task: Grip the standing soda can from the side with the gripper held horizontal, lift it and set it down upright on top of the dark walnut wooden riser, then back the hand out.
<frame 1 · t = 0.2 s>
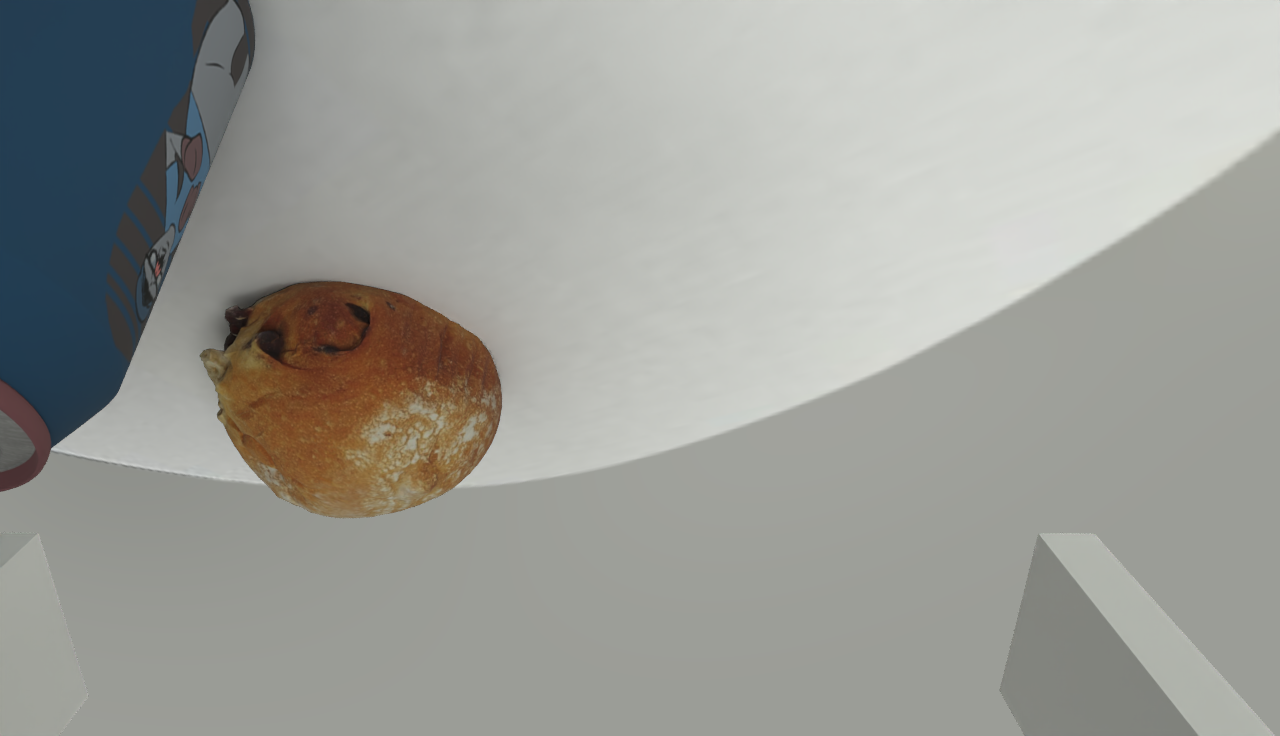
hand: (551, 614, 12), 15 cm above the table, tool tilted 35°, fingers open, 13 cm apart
bread roll: (363, 349, 33), on the table
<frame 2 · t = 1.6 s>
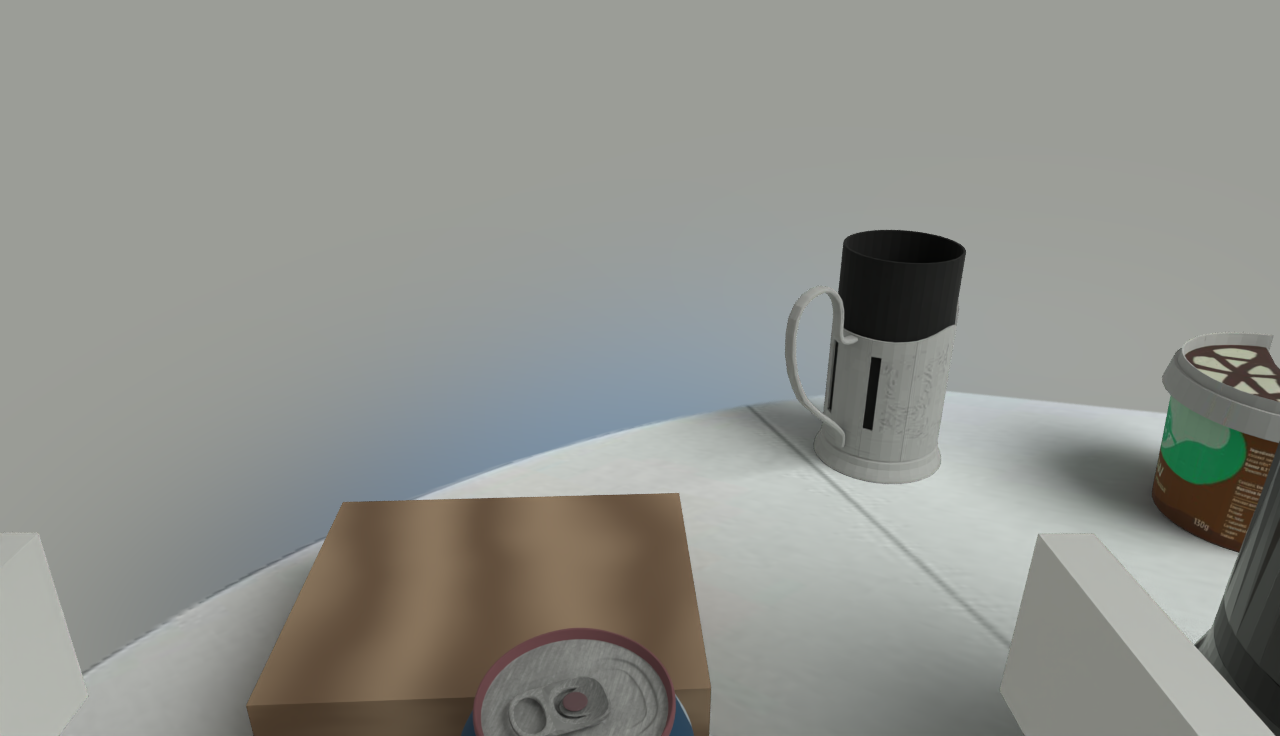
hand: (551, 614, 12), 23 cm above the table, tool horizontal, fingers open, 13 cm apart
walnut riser: (506, 663, 42), on the table
glass holder: (850, 464, 59), on the table
food container: (1184, 505, 55), on the table
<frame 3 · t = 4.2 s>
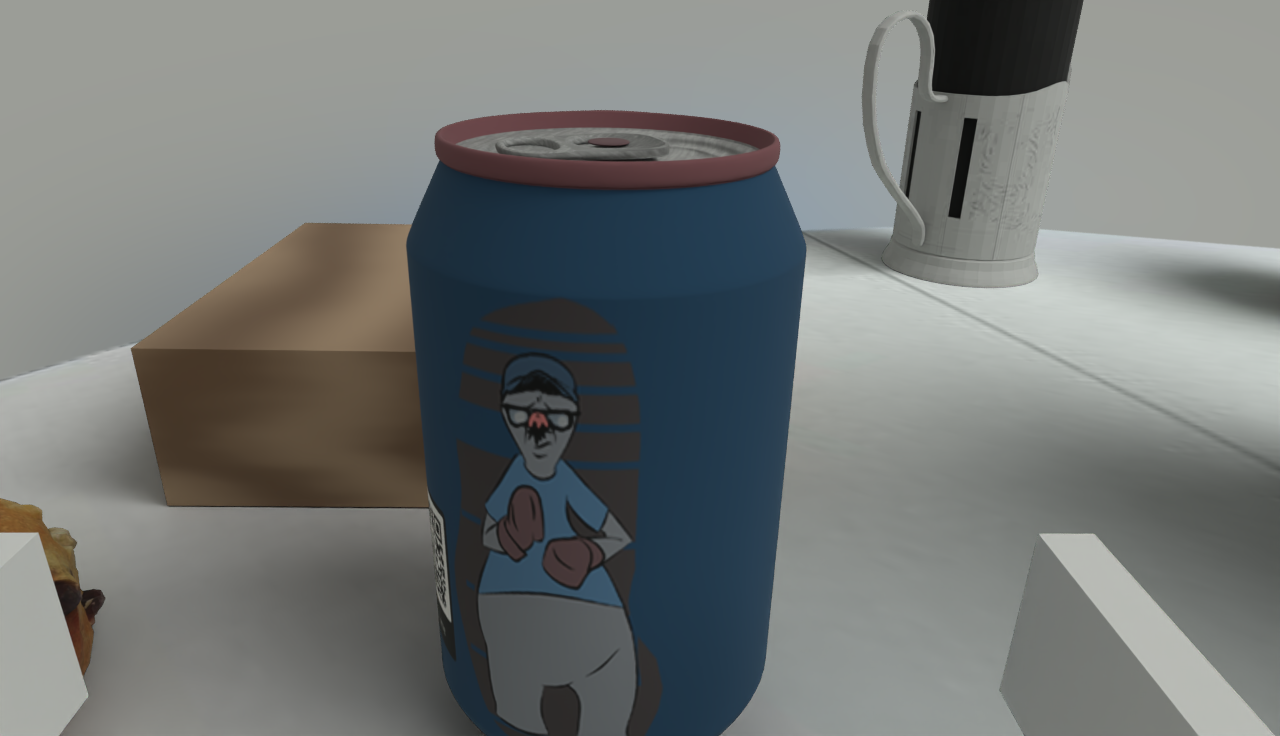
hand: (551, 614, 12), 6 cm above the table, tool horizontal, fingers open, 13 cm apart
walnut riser: (503, 404, 32), on the table
soda can: (605, 688, 19), on the table
glass holder: (927, 274, 49), on the table
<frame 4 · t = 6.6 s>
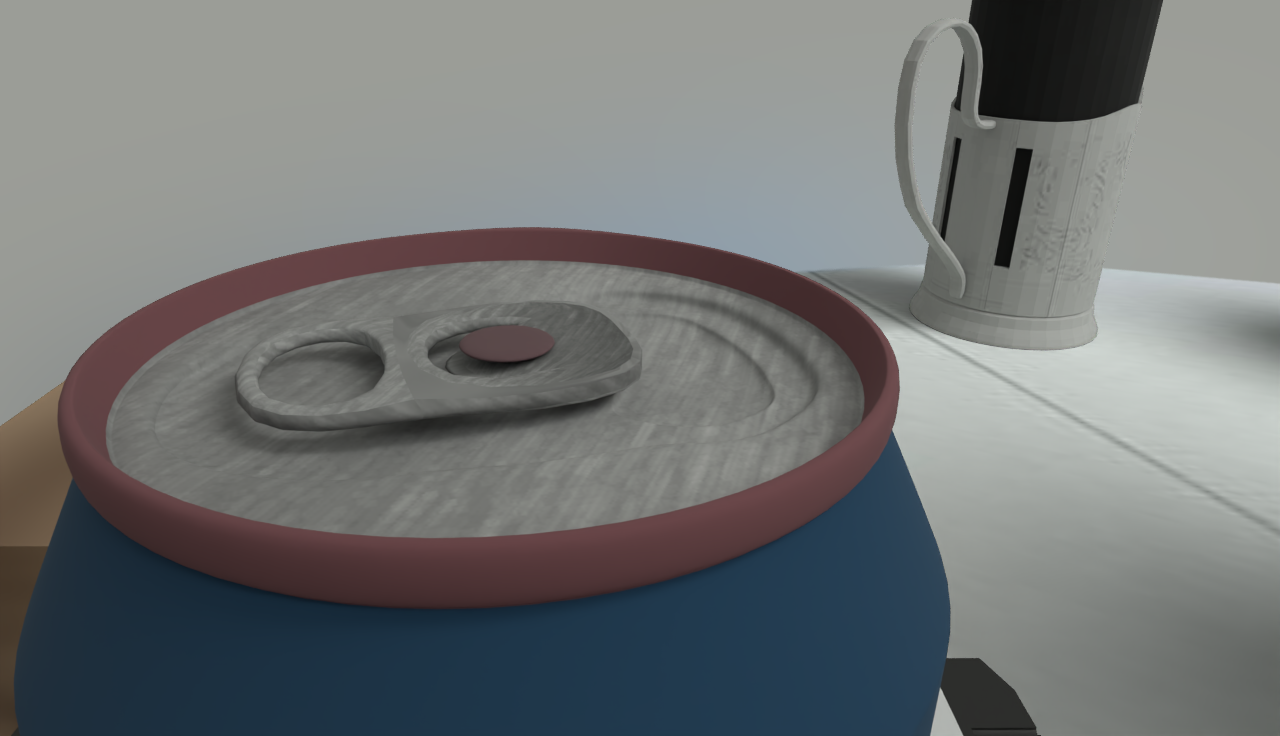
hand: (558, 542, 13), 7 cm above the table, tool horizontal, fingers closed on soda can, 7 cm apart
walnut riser: (436, 547, 24), on the table
glass holder: (966, 330, 41), on the table
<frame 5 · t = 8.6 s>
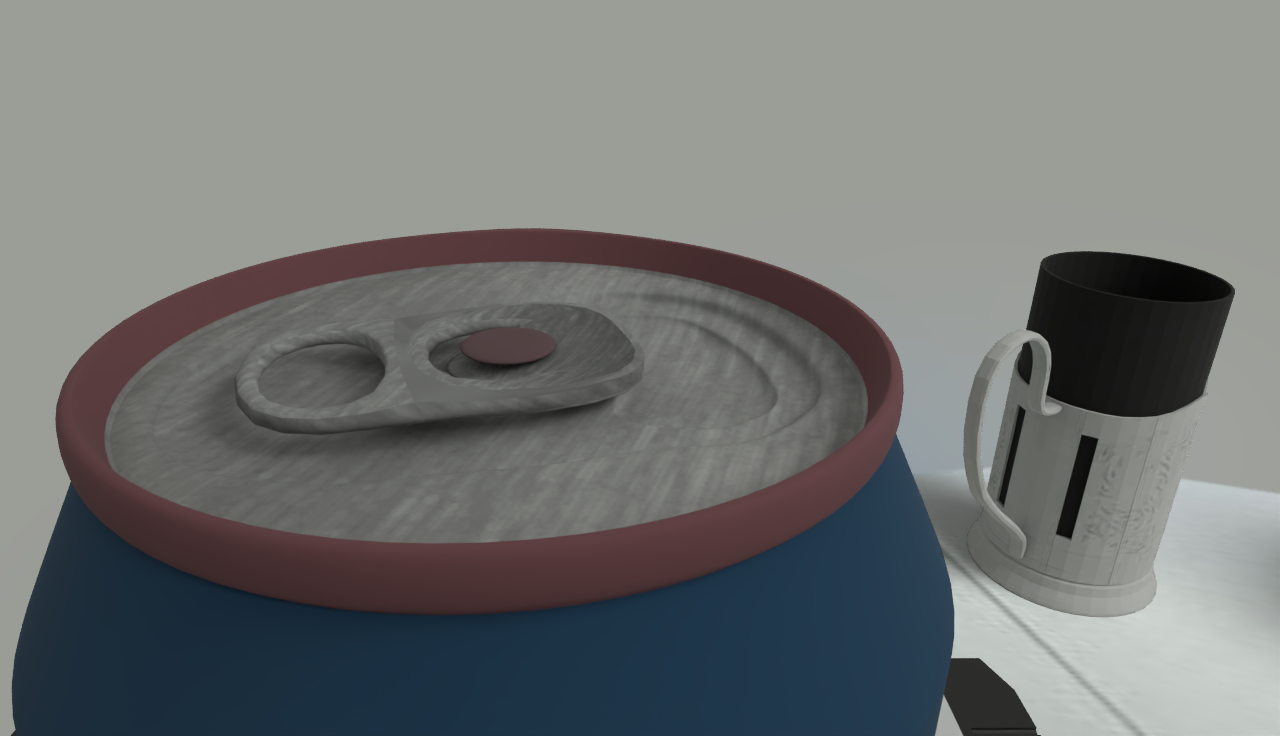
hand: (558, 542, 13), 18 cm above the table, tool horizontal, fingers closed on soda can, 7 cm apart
glass holder: (1024, 580, 42), on the table
when the fingers open (13 cm above the table, at t = 10.7 s): soda can drops 1 cm, resting on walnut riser.
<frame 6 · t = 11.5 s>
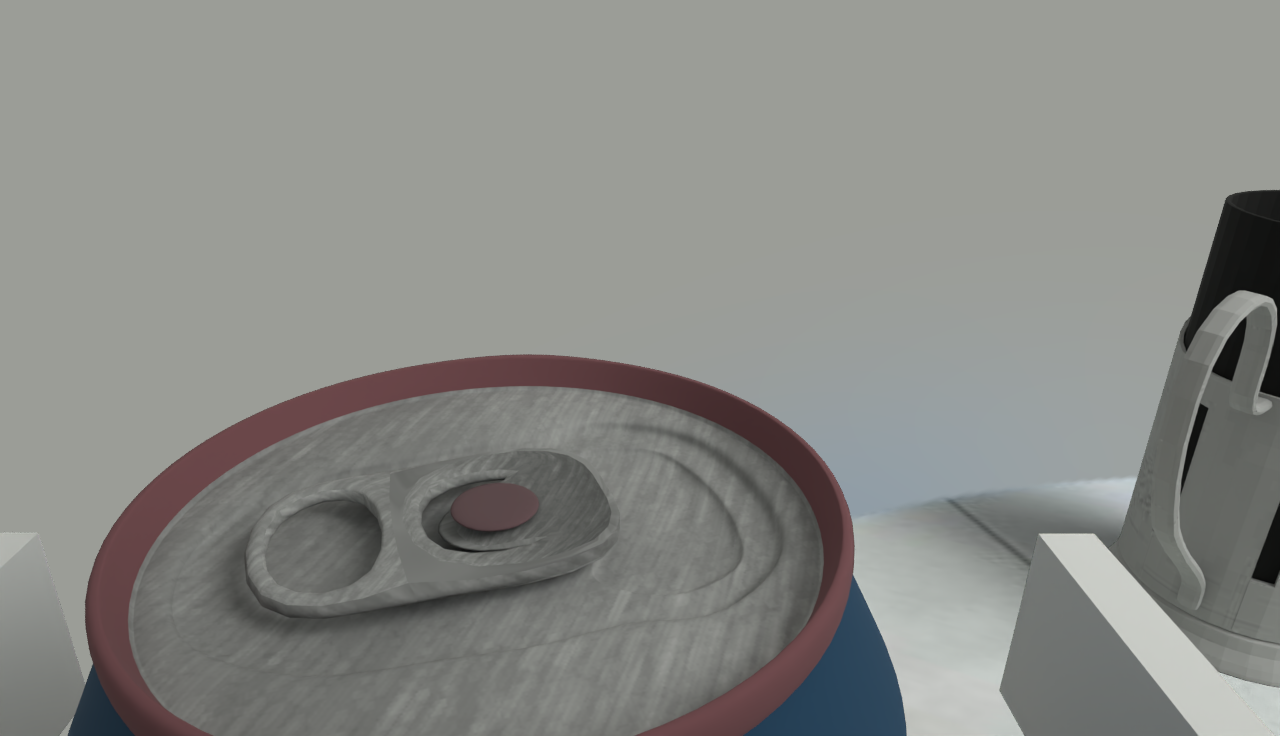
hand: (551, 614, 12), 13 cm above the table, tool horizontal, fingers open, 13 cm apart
glass holder: (1189, 635, 31), on the table
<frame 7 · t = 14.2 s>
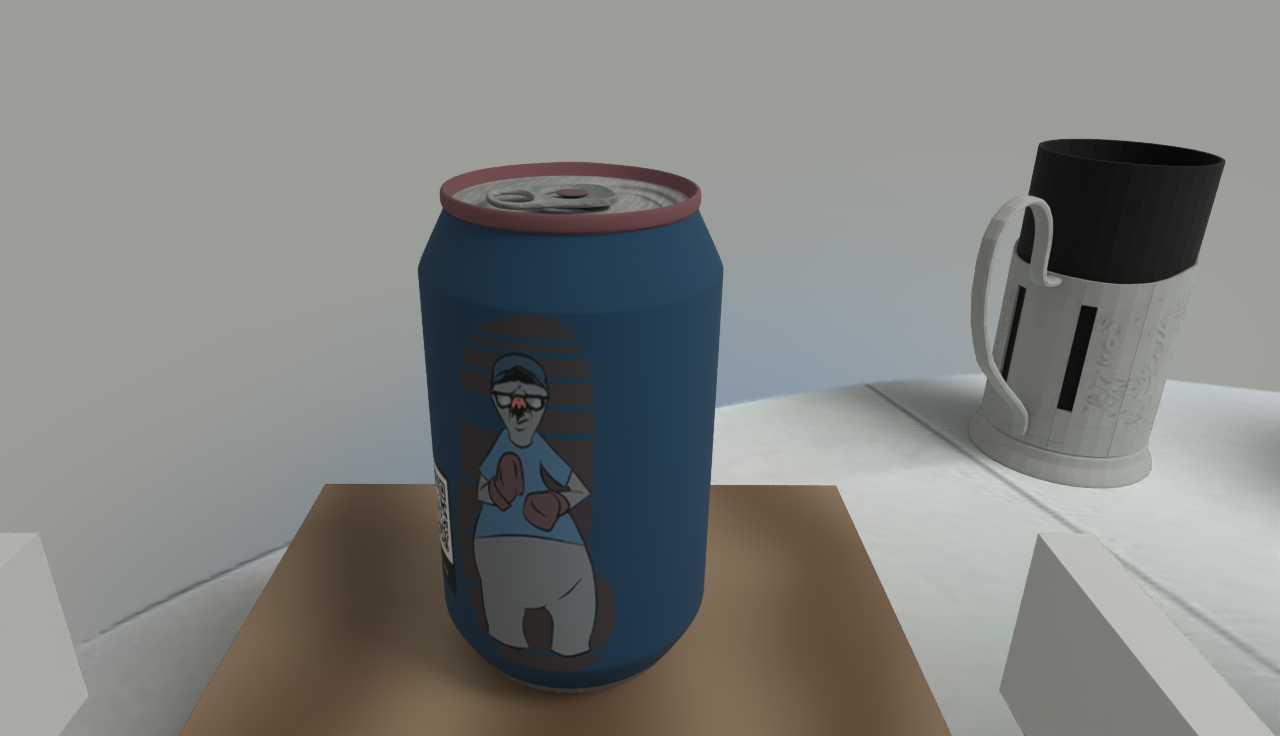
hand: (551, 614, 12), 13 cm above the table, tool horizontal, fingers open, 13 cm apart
soda can: (576, 624, 24), point 5 cm above the table, touching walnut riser
glass holder: (1025, 461, 43), on the table
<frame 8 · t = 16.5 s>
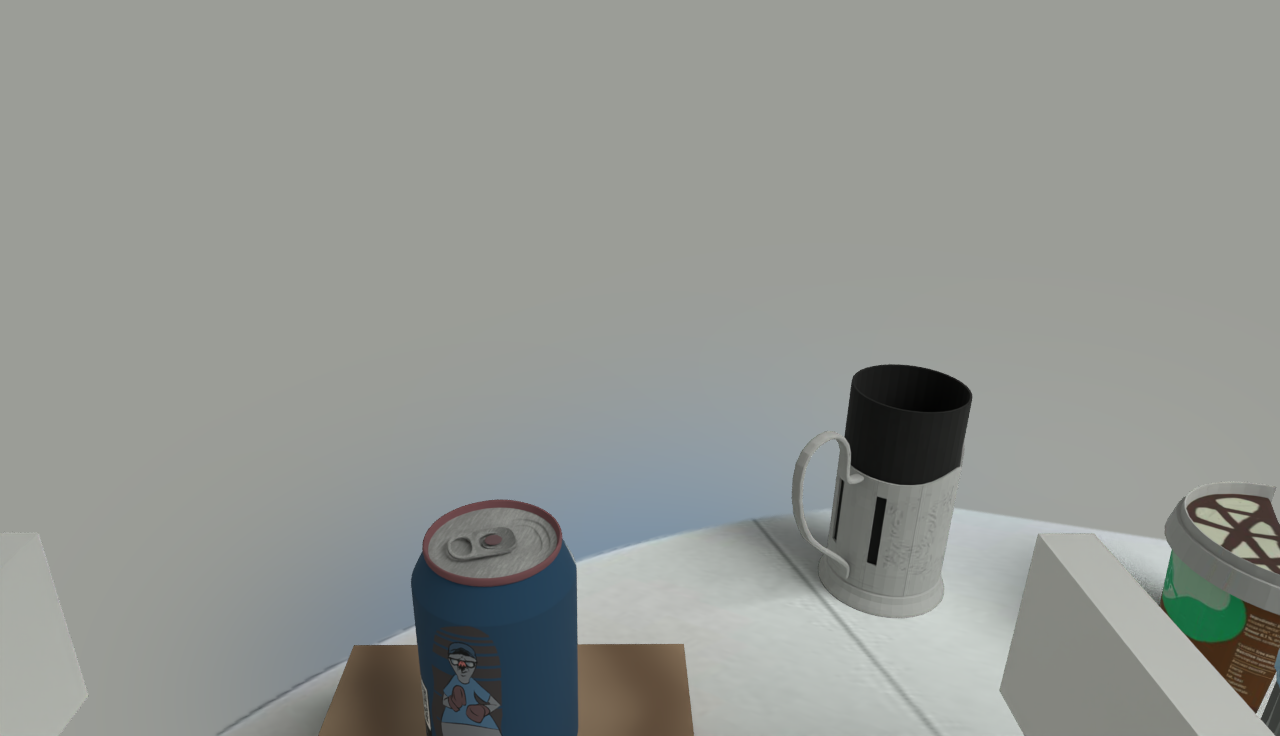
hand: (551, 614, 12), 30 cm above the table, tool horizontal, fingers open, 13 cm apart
glass holder: (853, 592, 60), on the table
food container: (1185, 652, 55), on the table
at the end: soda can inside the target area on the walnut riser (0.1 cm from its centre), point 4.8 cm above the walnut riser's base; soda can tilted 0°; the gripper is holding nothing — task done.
